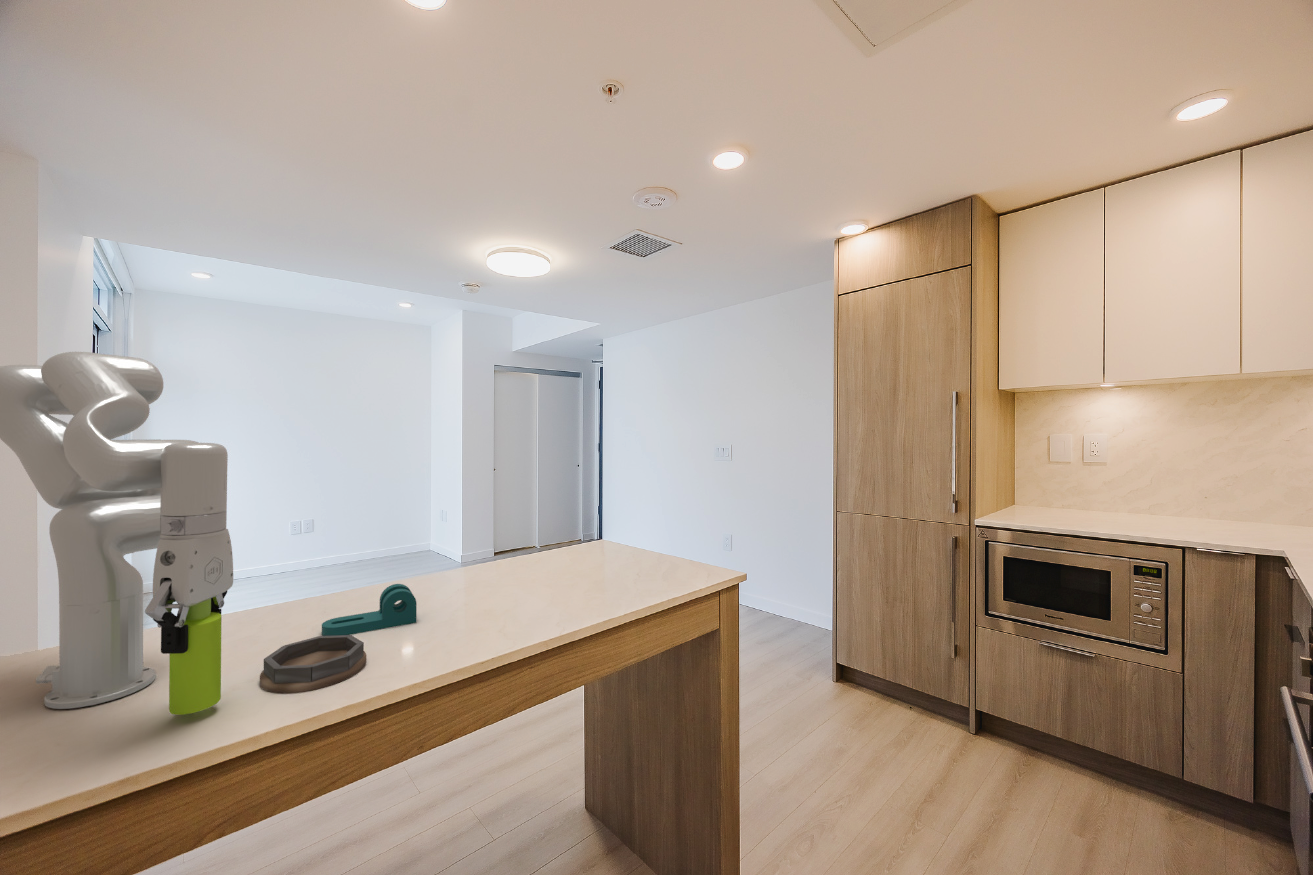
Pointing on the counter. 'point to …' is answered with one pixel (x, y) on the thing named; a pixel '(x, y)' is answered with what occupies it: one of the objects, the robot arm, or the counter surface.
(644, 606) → the counter surface
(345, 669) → the collar stand
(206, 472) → the robot arm
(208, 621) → the soap dispenser
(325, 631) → the bracket
